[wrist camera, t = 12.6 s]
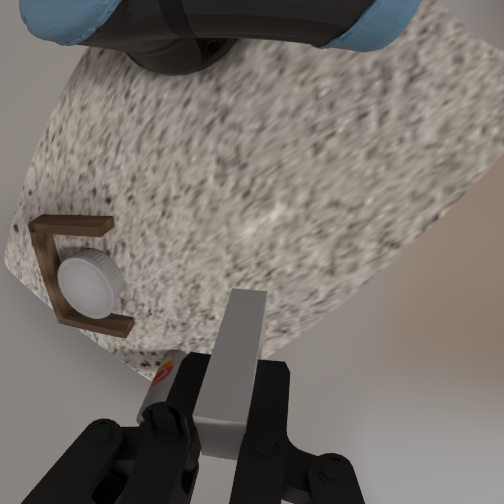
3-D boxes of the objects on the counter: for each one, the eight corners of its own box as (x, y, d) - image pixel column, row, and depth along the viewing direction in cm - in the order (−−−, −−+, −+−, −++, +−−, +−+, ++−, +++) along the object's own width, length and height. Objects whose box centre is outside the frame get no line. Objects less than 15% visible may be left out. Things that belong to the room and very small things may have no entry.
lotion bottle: (158, 353, 55) (117, 441, 37) (181, 346, 53) (142, 440, 35) (177, 373, 57) (144, 460, 39) (200, 366, 55) (169, 460, 37)
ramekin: (117, 240, 45) (100, 257, 40) (137, 301, 50) (123, 321, 45) (65, 244, 47) (47, 259, 42) (86, 299, 51) (72, 317, 47)
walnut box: (42, 214, 44) (27, 223, 41) (113, 216, 43) (99, 227, 39) (69, 310, 54) (59, 323, 50) (134, 323, 52) (125, 338, 48)
